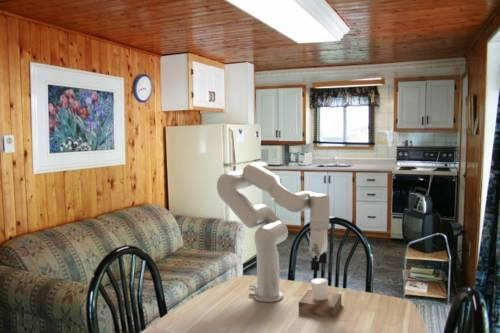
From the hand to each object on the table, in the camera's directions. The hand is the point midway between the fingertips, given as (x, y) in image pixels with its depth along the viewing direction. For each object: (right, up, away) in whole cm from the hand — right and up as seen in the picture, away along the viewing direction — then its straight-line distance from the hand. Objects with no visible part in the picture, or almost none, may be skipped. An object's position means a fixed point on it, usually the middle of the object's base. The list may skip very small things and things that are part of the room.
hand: (318, 266), depth 180 cm
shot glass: (+1, -13, +1) cm, 13 cm away
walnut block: (+1, -18, +1) cm, 18 cm away
